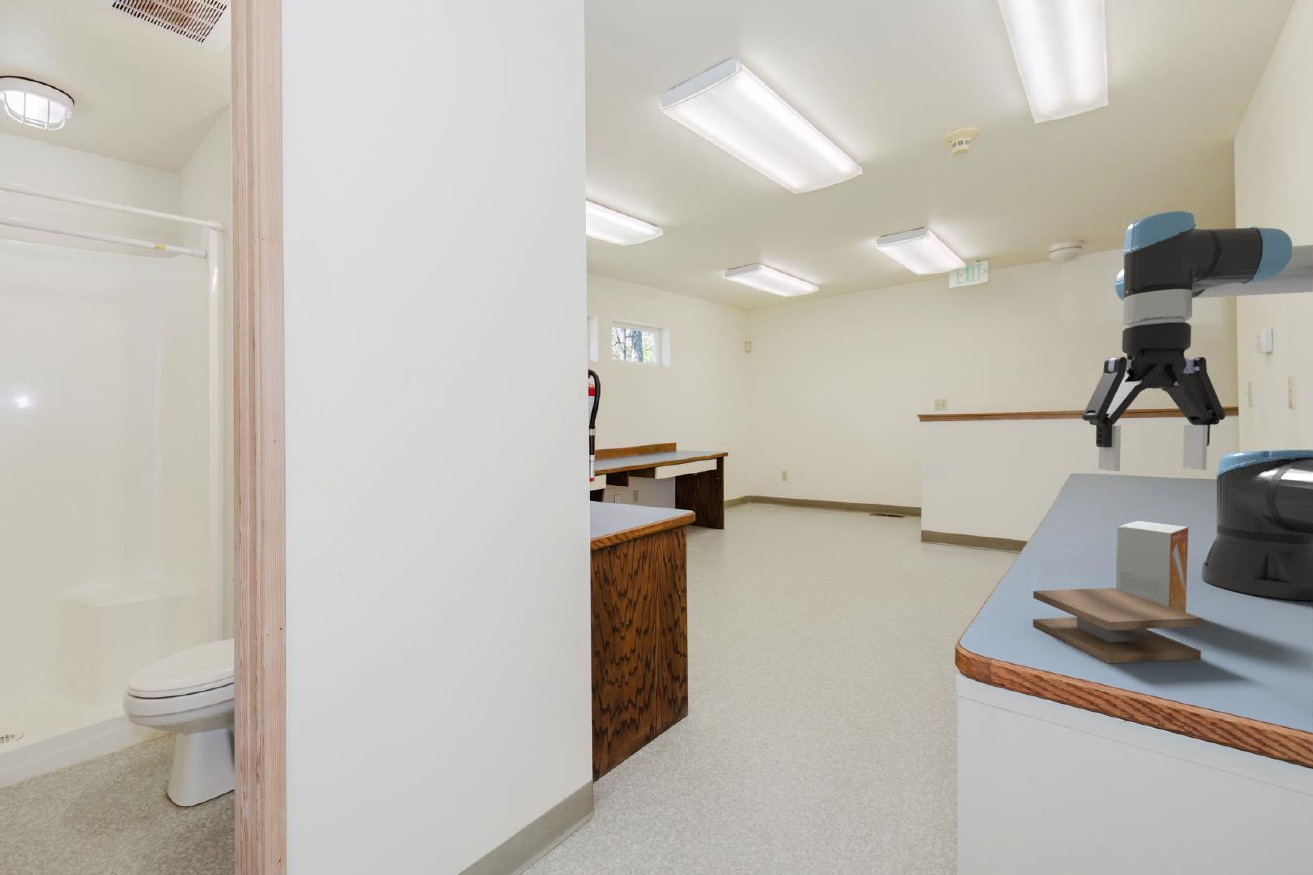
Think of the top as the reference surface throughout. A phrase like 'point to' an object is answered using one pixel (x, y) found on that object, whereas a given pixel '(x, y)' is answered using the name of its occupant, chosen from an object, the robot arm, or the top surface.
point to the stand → (1116, 625)
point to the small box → (1153, 562)
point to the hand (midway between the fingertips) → (1152, 469)
